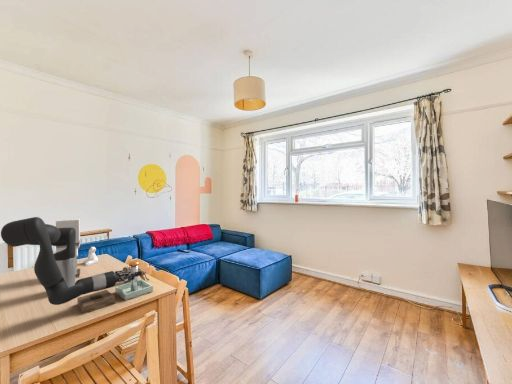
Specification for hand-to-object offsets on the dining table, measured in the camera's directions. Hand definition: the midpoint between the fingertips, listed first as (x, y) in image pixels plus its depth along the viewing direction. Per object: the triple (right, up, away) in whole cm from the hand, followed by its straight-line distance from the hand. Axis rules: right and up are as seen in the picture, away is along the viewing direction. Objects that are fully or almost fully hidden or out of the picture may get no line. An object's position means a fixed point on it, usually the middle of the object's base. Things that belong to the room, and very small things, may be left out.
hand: (139, 271), depth 125 cm
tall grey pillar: (-53, -9, +19) cm, 57 cm away
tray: (-2, -10, -2) cm, 10 cm away
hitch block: (-13, -10, -15) cm, 22 cm away
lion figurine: (-8, -10, +12) cm, 17 cm away
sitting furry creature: (-56, -9, +44) cm, 72 cm away
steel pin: (-2, -9, -2) cm, 9 cm away
